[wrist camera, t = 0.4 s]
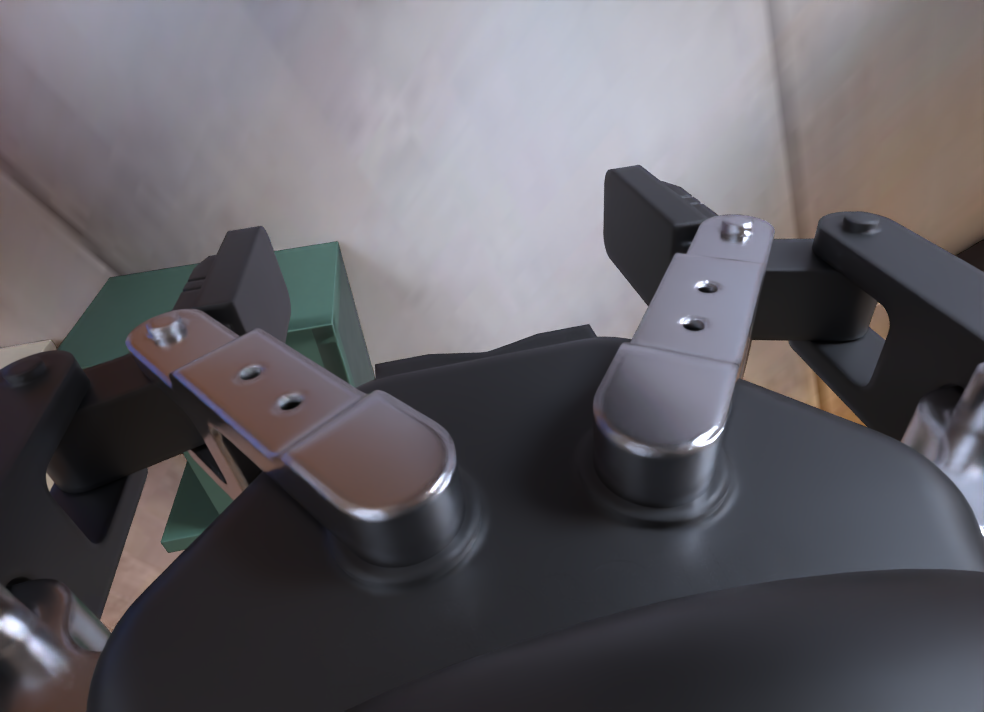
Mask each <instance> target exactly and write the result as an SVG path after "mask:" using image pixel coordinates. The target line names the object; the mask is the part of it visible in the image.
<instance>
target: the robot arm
mask: <svg viewBox="0 0 984 712" xmlns="http://www.w3.org/2000/svg"><path fill="white" fill-rule="evenodd" d="M774 234H775V229H774V227H773V226H772V225H771V224H770V223H769V222H767V221H765V220H762V219H760V218H756V217H753V216H747V215H738V214H729V215H720V216H719V215H717V214H716V213H715V212H713V211H712V210H711V209H709V208H708V207H707V206H705V205H704V204H701V203H700V201H699V200H697V199H696V198H694V197H692V195H690V194H689V193H688V192H686V191H685V190H684V189H682V188H681V187H679V186H676V185H673V184H670V183H667V182H664V181H660V180H659V179H657V178H656V177H655V176H653V175H652V174H651V173H650V172H648V171H647V170H646V169H644V168H643V167H642V166H640V165H635V166H629V167H623V168H617V169H610V170H608V171H607V173H606V176H605V183H604V229H603V235H604V244H605V248H606V252H607V254H608V256H609V258H610V259H611V260H612V262H613V263H614V264H615V265H616V267H617V268H618V269H619V270H620V272H621V273H622V274H623V275H624V277H625V278H626V279H627V280H628V282H629V283H630V284H631V285H632V287H633V288H634V289H635V290H636V292H637V293H638V294H639V295H640V297H641V298H642V299H643V300H644V302H645V303H646V304H647V305H648V308H647V310H646V312H645V314H644V316H643V318H642V320H641V322H640V324H639V326H638V328H637V330H636V332H635V334H634V336H633V338H632V339H626V338H618V337H597V336H596V335H595V333H594V331H593V330H592V328H591V326H590V325H589V324H587V325H582V326H577V327H571V328H566V329H561V330H555V331H550V332H545V333H539V334H536V335H533V336H530V337H528V338H525V339H522V340H519V341H517V342H514V343H511V344H508V345H506V346H503V347H500V348H497V349H494V350H492V351H488V352H481V353H452V354H428V355H422V356H417V357H412V358H407V359H401V360H396V361H391V362H385V363H380V364H375V375H376V379H374V380H371V381H369V382H366V383H364V384H362V385H360V386H358V387H356V388H355V387H353V386H352V385H350V384H349V383H347V382H345V381H344V380H342V379H341V378H339V377H337V376H336V375H334V374H333V373H331V372H329V371H328V370H326V369H325V368H323V367H321V366H320V365H318V364H317V363H315V362H313V361H312V360H310V359H309V358H307V357H305V356H304V355H302V354H301V353H299V352H297V351H296V350H294V349H293V348H291V347H289V346H288V345H286V344H285V342H286V336H287V331H288V326H289V321H290V316H291V303H290V297H289V293H288V290H287V286H286V284H285V281H284V278H283V275H282V272H281V270H280V267H279V264H278V261H277V258H276V256H275V253H274V250H273V247H272V244H271V242H270V239H269V236H268V234H267V232H266V230H265V229H264V227H262V226H257V227H251V228H245V229H239V230H233V231H228V232H227V233H226V236H225V238H224V240H223V242H222V244H221V246H220V248H219V250H218V253H217V255H212V256H208V257H207V258H206V259H205V260H203V261H202V262H201V263H200V264H198V265H197V266H196V267H195V268H194V269H193V271H192V273H191V275H190V277H189V279H188V282H186V284H185V286H184V288H183V292H181V294H180V296H179V298H178V300H177V301H176V303H175V305H174V307H173V309H172V311H170V312H166V313H163V314H160V315H157V316H155V317H152V318H150V319H148V320H146V321H145V322H143V323H141V324H140V325H138V326H137V327H136V328H134V329H133V330H132V331H131V332H130V333H129V335H128V336H127V338H126V341H125V343H126V346H127V348H128V350H129V352H130V353H128V354H126V355H124V356H121V357H118V358H115V359H112V360H109V361H107V362H104V363H101V364H98V365H95V366H92V367H89V368H86V369H82V368H81V366H80V365H79V363H78V362H77V360H76V359H75V357H74V356H73V355H72V354H71V353H70V352H68V351H63V350H52V351H45V352H40V353H36V354H33V355H30V356H27V357H24V358H22V359H19V360H17V361H15V362H13V363H11V364H9V365H7V366H5V367H3V368H2V369H0V712H984V272H983V271H981V270H979V269H978V268H976V267H974V266H972V265H971V264H969V263H967V262H965V261H964V260H962V259H960V258H958V257H957V256H955V255H953V254H951V253H950V252H948V251H946V250H944V249H942V248H941V247H939V246H937V245H935V244H934V243H932V242H930V241H928V240H927V239H925V238H923V237H921V236H920V235H918V234H916V233H914V232H913V231H911V230H909V229H907V228H905V227H904V226H902V225H900V224H898V223H897V222H895V221H893V220H891V219H889V218H886V217H883V216H880V215H876V214H872V213H868V212H860V211H856V212H836V213H831V214H828V215H826V216H823V217H822V218H821V219H820V220H819V222H818V226H817V230H816V234H815V237H814V239H774ZM877 302H879V303H880V304H881V305H882V306H883V307H884V308H885V310H886V311H887V313H888V316H889V321H890V328H889V332H888V335H887V338H886V340H884V339H883V338H882V337H881V336H879V335H878V334H877V333H876V332H875V331H873V330H872V329H871V328H870V327H869V324H870V322H871V319H872V316H873V313H874V310H875V307H876V305H877ZM752 340H788V341H789V344H790V346H791V347H792V349H793V350H794V351H795V352H796V353H797V354H798V355H799V356H800V357H801V358H802V359H803V360H804V361H805V362H806V363H807V364H808V366H809V367H810V368H811V369H812V370H813V371H814V372H815V373H816V374H817V375H818V376H819V377H820V378H821V379H822V380H823V381H824V382H825V383H826V384H827V385H828V386H829V387H830V389H831V390H832V391H833V392H834V393H835V394H836V395H837V396H838V397H839V398H840V399H841V400H842V401H843V402H844V403H845V404H846V405H847V406H848V407H849V408H850V409H851V410H852V412H853V413H854V414H855V415H856V416H857V417H858V418H859V419H860V420H861V421H862V422H863V423H864V424H865V425H866V426H867V427H865V426H863V425H860V424H857V423H855V422H852V421H849V420H847V419H844V418H842V417H839V416H836V415H834V414H831V413H829V412H826V411H823V410H821V409H818V408H816V407H813V406H810V405H808V404H805V403H803V402H800V401H797V400H795V399H792V398H789V397H787V396H784V395H782V394H779V393H776V392H774V391H771V390H769V389H766V388H763V387H761V386H758V385H756V384H753V383H750V382H748V381H745V380H743V377H744V373H745V368H746V364H747V360H748V356H749V352H750V347H751V343H752ZM186 451H188V452H189V454H190V455H191V457H192V458H193V459H194V460H195V461H196V462H197V463H198V465H199V466H200V467H201V468H202V469H203V470H204V471H205V472H206V473H207V474H208V475H209V476H210V477H211V478H212V479H213V480H214V481H215V482H216V483H217V484H218V485H219V486H220V487H221V488H222V489H223V490H224V491H225V492H226V493H227V494H228V495H229V496H230V497H231V499H232V500H233V502H232V503H231V504H230V505H229V506H228V507H227V508H226V509H225V510H224V511H223V512H222V513H221V514H220V515H219V516H218V517H217V518H216V519H215V520H214V521H213V522H212V523H211V524H210V525H209V526H208V527H207V528H206V529H205V530H204V531H203V532H202V533H201V534H200V535H199V536H198V537H197V538H196V539H195V540H194V541H193V542H192V543H191V544H190V545H189V546H188V547H187V548H186V549H185V550H184V551H183V552H182V553H181V554H180V555H179V556H178V557H177V558H176V559H175V560H174V561H173V563H172V564H171V565H170V566H169V567H168V568H167V569H166V570H165V571H164V572H163V573H162V574H161V575H160V576H159V577H158V578H157V579H156V580H155V581H154V582H153V583H152V584H151V585H150V586H149V587H148V588H147V589H146V590H145V591H144V592H143V593H142V594H141V595H140V596H139V597H138V598H137V599H136V600H135V601H134V603H133V604H132V605H131V606H130V607H129V608H128V610H127V611H126V612H125V614H124V615H123V616H122V618H121V619H120V620H119V622H118V623H117V625H116V626H115V628H114V630H113V631H112V633H111V632H110V631H109V630H108V628H107V627H106V626H105V625H104V624H103V623H102V622H101V621H100V619H101V616H102V613H103V610H104V607H105V604H106V600H107V597H108V594H109V591H110V588H111V585H112V582H113V579H114V576H115V573H116V570H117V567H118V564H119V561H120V557H121V554H122V551H123V548H124V545H125V542H126V539H127V536H128V533H129V530H130V527H131V524H132V521H133V518H134V515H135V511H136V508H137V505H138V502H139V499H140V496H141V493H142V490H143V487H144V484H145V481H146V478H147V474H148V468H147V467H150V466H152V465H154V464H157V463H159V462H162V461H164V460H167V459H169V458H172V457H174V456H176V455H179V454H181V453H184V452H186ZM46 473H47V474H48V475H49V477H50V478H51V479H52V480H53V481H54V484H53V486H52V488H51V490H50V492H49V489H48V486H47V482H46Z"/></svg>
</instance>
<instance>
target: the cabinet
mask: <svg viewBox="0 0 984 712" xmlns="http://www.w3.org/2000/svg"><path fill="white" fill-rule="evenodd" d="M274 253H275V256H276V258H277V261H278V264H279V267H280V270H281V272H282V275H283V278H284V281H285V284H286V286H287V290H288V293H289V297H290V303H291V316H290V321H289V326H288V331H287V336H286V342H285V344H286V345H288V346H289V347H291V348H293V349H294V350H296V351H297V352H299V353H301V354H302V355H304V356H305V357H307V358H309V359H310V360H312V361H313V362H315V363H317V364H318V365H320V366H321V367H323V368H325V369H326V370H328V371H329V372H331V373H333V374H334V375H336V376H337V377H339V378H341V379H342V380H344V381H345V382H347V383H349V384H350V385H352V386H353V387H355V388H356V387H358V386H360V385H362V384H364V383H366V382H369V381H371V380H374V379H375V377H374V373H373V369H372V366H371V362H370V358H369V355H368V351H367V347H366V344H365V340H364V336H363V332H362V329H361V325H360V321H359V318H358V314H357V310H356V307H355V303H354V299H353V296H352V292H351V288H350V284H349V281H348V277H347V273H346V270H345V266H344V262H343V259H342V255H341V251H340V247H339V244H338V242H337V241H336V242H330V243H324V244H318V245H311V246H305V247H299V248H292V249H286V250H280V251H274ZM198 264H200V263H198ZM198 264H192V265H186V266H179V267H173V268H167V269H160V270H154V271H148V272H142V273H135V274H129V275H123V276H117V277H110V278H109V279H108V281H107V282H106V283H105V285H104V286H103V288H102V289H101V290H100V292H99V293H98V294H97V296H96V297H95V298H94V300H93V301H92V303H91V304H90V305H89V307H88V308H87V309H86V311H85V312H84V313H83V315H82V316H81V318H80V319H79V320H78V322H77V323H76V324H75V326H74V327H73V328H72V330H71V331H70V333H69V334H68V335H67V337H66V338H65V339H64V341H63V342H62V343H61V345H60V346H59V348H58V349H57V350H63V351H68V352H70V353H71V354H72V355H73V356H74V357H75V359H76V360H77V362H78V363H79V365H80V366H81V368H82V369H86V368H89V367H92V366H95V365H98V364H101V363H104V362H107V361H109V360H112V359H115V358H118V357H121V356H124V355H126V354H128V353H130V352H129V350H128V348H127V346H126V343H125V341H126V338H127V336H128V335H129V333H130V332H131V331H132V330H133V329H134V328H136V327H137V326H138V325H140V324H141V323H143V322H145V321H146V320H148V319H150V318H152V317H155V316H157V315H160V314H163V313H166V312H170V311H172V309H173V307H174V305H175V303H176V301H177V300H178V298H179V296H180V294H181V292H183V288H184V286H185V284H186V282H188V279H189V277H190V275H191V273H192V271H193V269H194V268H195V267H196V266H197V265H198ZM183 454H184V456H185V457H186V459H187V463H186V466H185V469H184V472H183V475H182V478H181V482H180V485H179V488H178V491H177V494H176V497H175V500H174V503H173V506H172V509H171V512H170V515H169V518H168V521H167V524H166V527H165V530H164V533H163V536H162V540H161V544H162V545H163V547H164V548H165V549H166V551H167V552H168V553H171V552H175V551H180V550H185V549H186V548H187V547H188V546H189V545H190V544H191V543H192V542H193V541H194V540H195V539H196V538H197V537H198V536H199V535H200V534H201V533H202V532H203V531H204V530H205V529H206V528H207V527H208V526H209V525H210V524H211V523H212V522H213V521H214V520H215V519H216V518H217V517H218V516H219V515H220V514H221V513H222V512H223V511H224V510H225V509H226V508H227V507H228V506H229V505H230V504H231V503H232V502H233V500H232V499H231V497H230V496H229V495H228V494H227V493H226V492H225V491H224V490H223V489H222V488H221V487H220V486H219V485H218V484H217V483H216V482H215V481H214V480H213V479H212V478H211V477H210V476H209V475H208V474H207V473H206V472H205V471H204V470H203V469H202V468H201V467H200V466H199V465H198V463H197V462H196V461H195V460H194V459H193V458H192V457H191V455H190V454H189V452H188V451H186V452H184V453H183Z"/></svg>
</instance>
